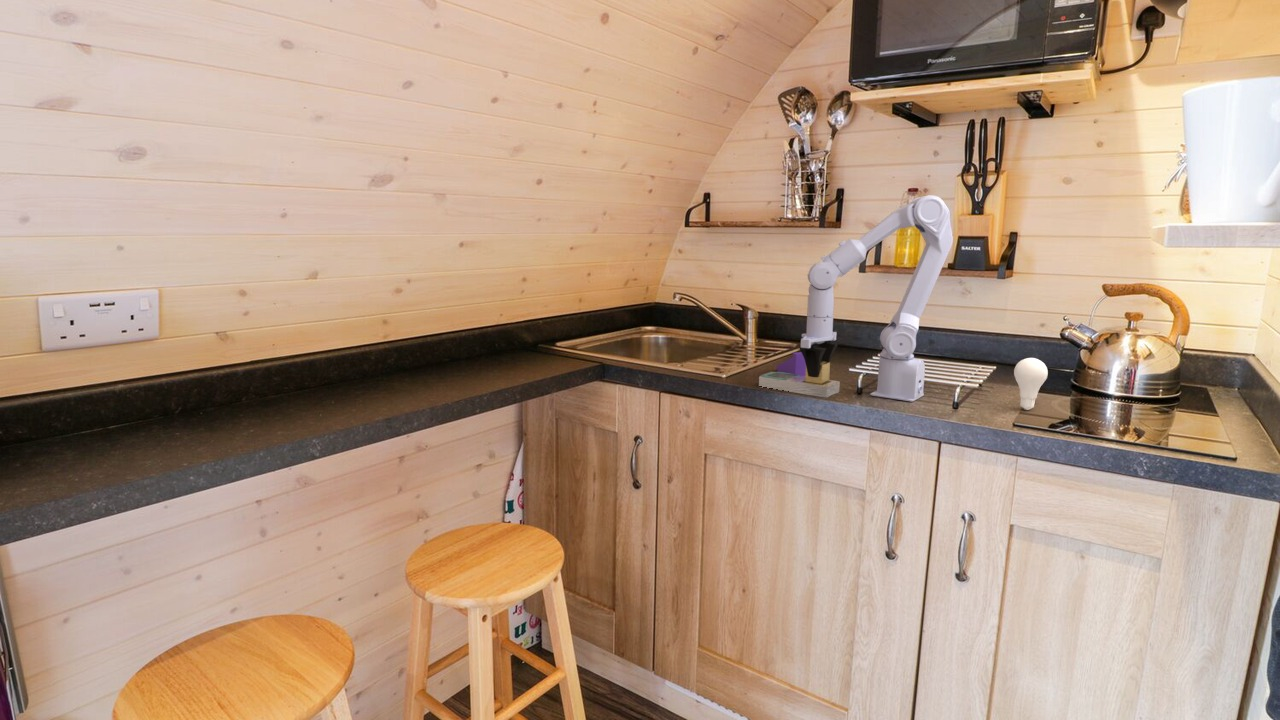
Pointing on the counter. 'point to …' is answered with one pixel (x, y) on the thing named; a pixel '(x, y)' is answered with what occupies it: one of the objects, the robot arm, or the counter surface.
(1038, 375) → the lightbulb
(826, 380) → the beige hollow block
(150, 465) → the counter surface
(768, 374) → the white compartment tray
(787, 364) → the bracket
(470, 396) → the counter surface
